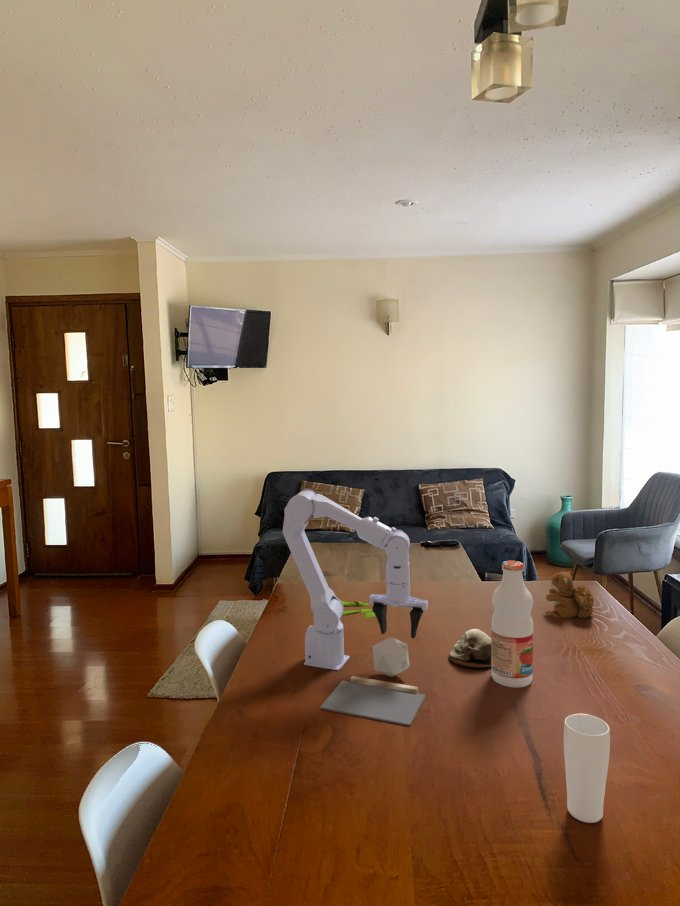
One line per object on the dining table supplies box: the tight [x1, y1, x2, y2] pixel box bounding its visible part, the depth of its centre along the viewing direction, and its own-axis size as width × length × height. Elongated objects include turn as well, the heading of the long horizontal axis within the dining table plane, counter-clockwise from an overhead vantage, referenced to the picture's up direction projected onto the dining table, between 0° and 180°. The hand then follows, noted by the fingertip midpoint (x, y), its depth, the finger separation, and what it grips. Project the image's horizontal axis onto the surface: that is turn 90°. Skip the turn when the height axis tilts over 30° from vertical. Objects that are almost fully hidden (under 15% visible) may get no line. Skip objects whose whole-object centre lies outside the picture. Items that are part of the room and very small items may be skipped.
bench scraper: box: [319, 680, 426, 727], centre depth 133 cm, size 20×13×1 cm, turn 68°
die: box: [371, 636, 411, 678], centre depth 144 cm, size 8×9×10 cm
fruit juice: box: [490, 560, 534, 689], centre depth 141 cm, size 9×9×28 cm
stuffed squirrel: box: [545, 571, 595, 619], centre depth 182 cm, size 10×14×13 cm
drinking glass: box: [563, 713, 611, 824], centre depth 96 cm, size 7×7×15 cm
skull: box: [448, 628, 491, 668], centre depth 153 cm, size 12×10×10 cm
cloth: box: [340, 600, 376, 619], centre depth 191 cm, size 20×22×2 cm
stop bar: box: [349, 675, 419, 694], centre depth 140 cm, size 16×1×1 cm, turn 68°
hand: (398, 634), depth 150 cm, fingers open, 7 cm apart
